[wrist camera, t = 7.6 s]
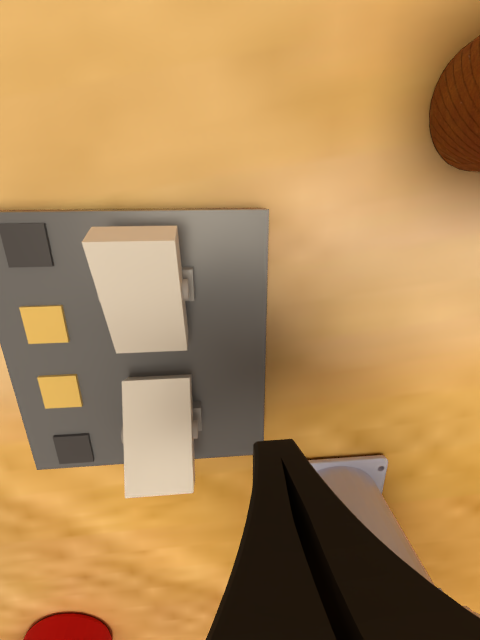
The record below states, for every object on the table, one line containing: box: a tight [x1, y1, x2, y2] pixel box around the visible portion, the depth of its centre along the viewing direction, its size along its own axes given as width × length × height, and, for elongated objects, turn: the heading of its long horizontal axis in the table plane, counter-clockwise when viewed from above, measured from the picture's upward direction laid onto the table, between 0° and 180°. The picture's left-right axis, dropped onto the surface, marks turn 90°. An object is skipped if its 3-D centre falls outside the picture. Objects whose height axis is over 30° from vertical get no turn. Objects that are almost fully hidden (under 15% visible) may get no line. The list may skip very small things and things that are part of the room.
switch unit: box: [0, 208, 269, 470], centre depth 19 cm, size 15×14×3 cm
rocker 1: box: [82, 226, 189, 354], centre depth 15 cm, size 6×4×2 cm, turn 179°
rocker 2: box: [121, 374, 198, 498], centre depth 18 cm, size 6×4×2 cm, turn 1°
